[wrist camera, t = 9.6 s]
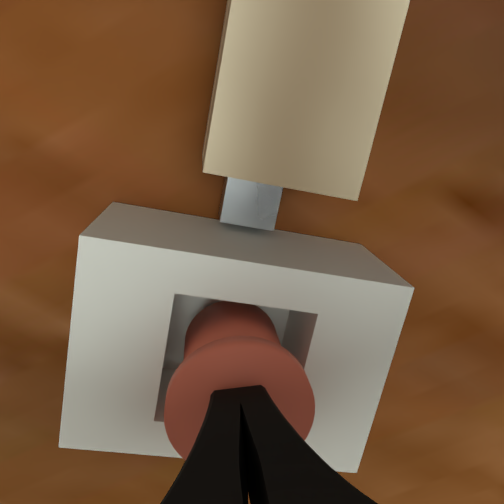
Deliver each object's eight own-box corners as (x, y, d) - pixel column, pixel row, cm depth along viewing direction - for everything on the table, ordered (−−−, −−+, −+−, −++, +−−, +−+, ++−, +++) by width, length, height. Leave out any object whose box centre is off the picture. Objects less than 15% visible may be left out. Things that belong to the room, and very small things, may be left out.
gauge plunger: (299, 297, 16) (330, 357, 12) (274, 397, 17) (296, 482, 13) (182, 280, 15) (176, 337, 11) (165, 386, 16) (154, 470, 12)
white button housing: (360, 244, 19) (414, 287, 14) (320, 390, 21) (356, 472, 16) (112, 201, 17) (79, 235, 12) (93, 364, 19) (58, 447, 14)
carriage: (344, 2, 16) (426, -63, 10) (305, 172, 17) (357, 200, 12) (232, -27, 15) (250, -114, 9) (202, 152, 17) (202, 172, 11)
